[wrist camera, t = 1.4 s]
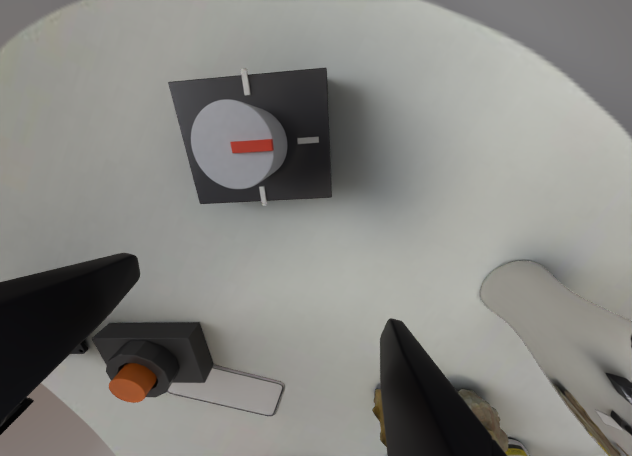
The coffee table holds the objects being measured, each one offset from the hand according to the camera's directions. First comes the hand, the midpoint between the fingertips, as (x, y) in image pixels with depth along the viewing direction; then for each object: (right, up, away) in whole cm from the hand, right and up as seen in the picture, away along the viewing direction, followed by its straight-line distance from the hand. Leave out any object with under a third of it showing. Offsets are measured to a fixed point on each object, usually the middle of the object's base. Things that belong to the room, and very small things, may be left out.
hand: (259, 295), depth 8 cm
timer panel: (-2, +9, +10) cm, 14 cm away
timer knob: (-2, +8, +8) cm, 11 cm away
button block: (-16, -12, +20) cm, 28 cm away
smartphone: (-10, -18, +23) cm, 31 cm away
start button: (-17, -13, +17) cm, 27 cm away
